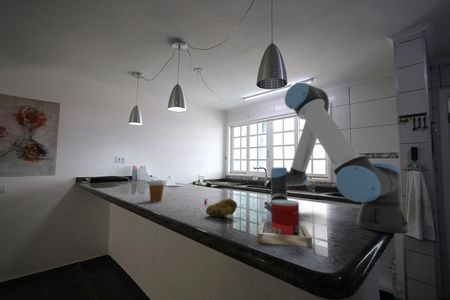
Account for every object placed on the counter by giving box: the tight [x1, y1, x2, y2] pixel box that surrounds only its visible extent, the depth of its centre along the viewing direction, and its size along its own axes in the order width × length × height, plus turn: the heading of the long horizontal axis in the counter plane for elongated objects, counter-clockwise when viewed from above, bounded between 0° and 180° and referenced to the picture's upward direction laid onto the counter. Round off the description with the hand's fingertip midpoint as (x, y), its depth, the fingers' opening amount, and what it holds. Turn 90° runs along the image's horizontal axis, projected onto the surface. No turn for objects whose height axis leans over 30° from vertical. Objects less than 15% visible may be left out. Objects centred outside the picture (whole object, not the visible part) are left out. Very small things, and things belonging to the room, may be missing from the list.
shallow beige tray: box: [257, 221, 313, 248], centre depth 64 cm, size 14×13×2 cm
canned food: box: [270, 199, 300, 236], centre depth 63 cm, size 8×8×11 cm
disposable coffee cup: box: [148, 180, 165, 202], centre depth 126 cm, size 10×10×12 cm
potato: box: [205, 198, 238, 218], centre depth 88 cm, size 8×13×8 cm, turn 53°
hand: (282, 214), depth 67 cm, fingers closed
